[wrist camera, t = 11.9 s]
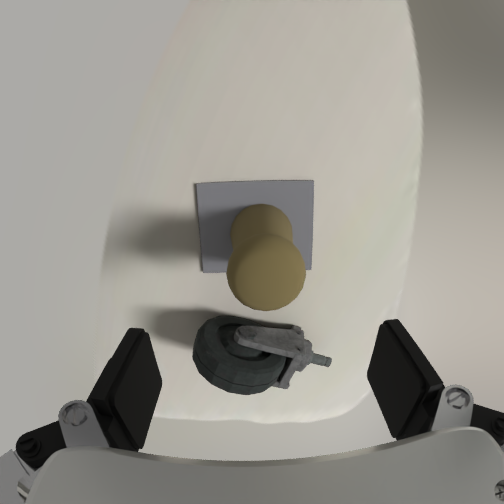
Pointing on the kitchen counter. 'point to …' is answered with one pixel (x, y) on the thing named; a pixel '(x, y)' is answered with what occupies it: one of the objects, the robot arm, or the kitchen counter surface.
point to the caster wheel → (251, 355)
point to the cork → (264, 259)
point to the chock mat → (240, 197)
